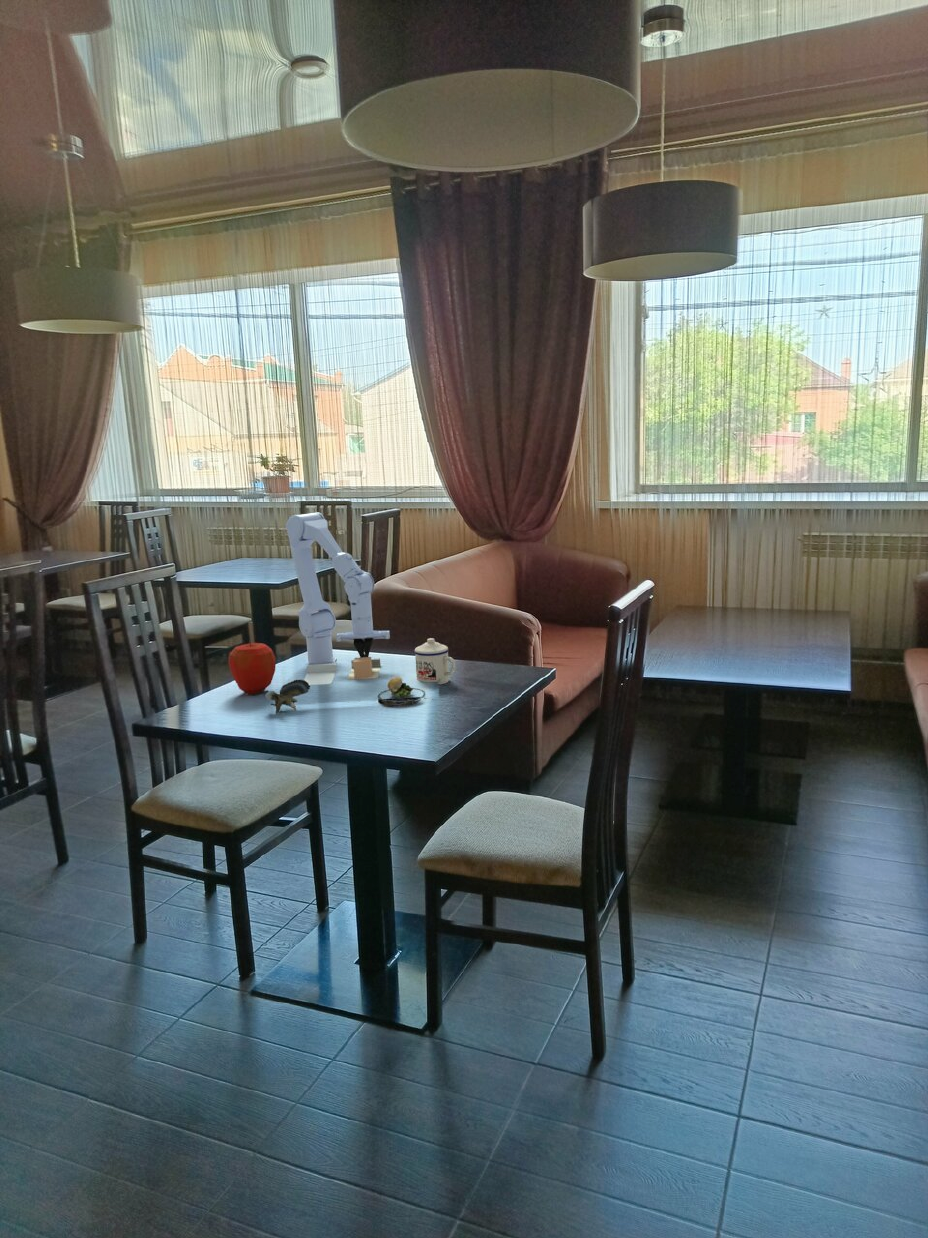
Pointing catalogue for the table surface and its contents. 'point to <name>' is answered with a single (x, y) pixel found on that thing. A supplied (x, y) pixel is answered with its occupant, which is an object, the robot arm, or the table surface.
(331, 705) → the table surface
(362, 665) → the block
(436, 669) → the teacup with lid
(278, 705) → the grey-brown animal figure
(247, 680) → the apple
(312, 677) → the grey strip
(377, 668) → the beige lipped tray
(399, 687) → the burger
